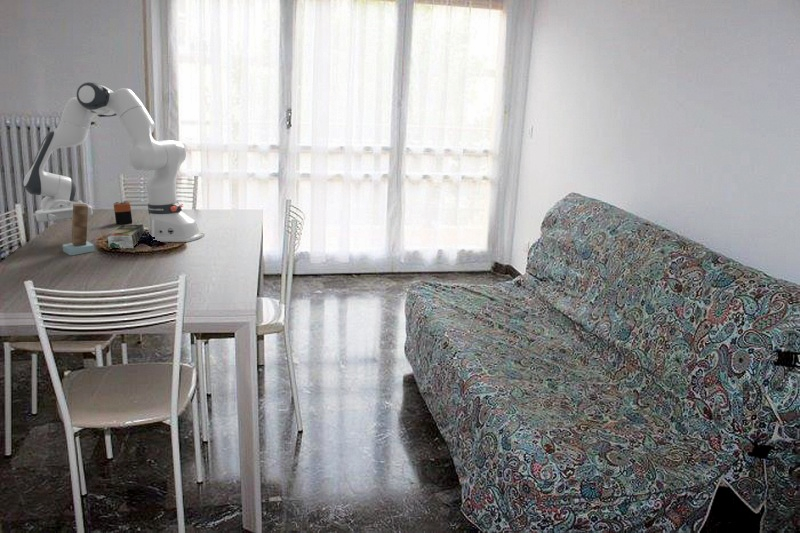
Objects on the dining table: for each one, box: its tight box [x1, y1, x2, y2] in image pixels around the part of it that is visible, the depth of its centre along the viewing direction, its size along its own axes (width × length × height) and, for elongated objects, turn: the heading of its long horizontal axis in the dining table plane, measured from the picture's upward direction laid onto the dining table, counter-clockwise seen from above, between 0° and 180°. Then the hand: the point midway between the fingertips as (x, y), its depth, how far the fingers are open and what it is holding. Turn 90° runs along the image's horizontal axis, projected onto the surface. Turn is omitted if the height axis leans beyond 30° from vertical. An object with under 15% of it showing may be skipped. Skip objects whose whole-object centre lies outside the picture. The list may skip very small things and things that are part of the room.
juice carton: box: [107, 224, 145, 249], centre depth 273 cm, size 20×10×6 cm, turn 7°
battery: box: [113, 200, 133, 225], centre depth 309 cm, size 4×7×10 cm, turn 114°
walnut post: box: [71, 203, 89, 245], centre depth 261 cm, size 4×4×15 cm
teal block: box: [62, 240, 96, 256], centre depth 263 cm, size 9×9×3 cm
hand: (69, 216), depth 265 cm, fingers open, 8 cm apart
